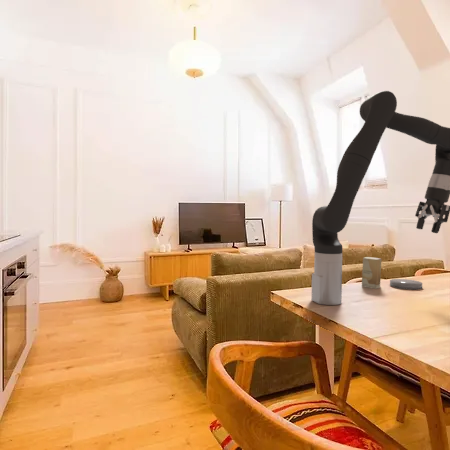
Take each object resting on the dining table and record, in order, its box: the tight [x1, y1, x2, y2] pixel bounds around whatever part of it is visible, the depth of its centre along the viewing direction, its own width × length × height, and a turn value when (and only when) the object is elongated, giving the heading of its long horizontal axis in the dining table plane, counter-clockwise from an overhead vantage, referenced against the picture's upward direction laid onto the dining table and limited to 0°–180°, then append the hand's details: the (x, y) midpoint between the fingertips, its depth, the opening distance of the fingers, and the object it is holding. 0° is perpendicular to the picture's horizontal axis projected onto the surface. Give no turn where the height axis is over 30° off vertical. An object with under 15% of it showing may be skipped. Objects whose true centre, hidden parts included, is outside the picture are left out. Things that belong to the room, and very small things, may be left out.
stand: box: [389, 278, 423, 291], centre depth 143 cm, size 12×12×2 cm
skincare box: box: [361, 256, 382, 290], centre depth 142 cm, size 6×4×12 cm
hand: (426, 230), depth 126 cm, fingers open, 8 cm apart
